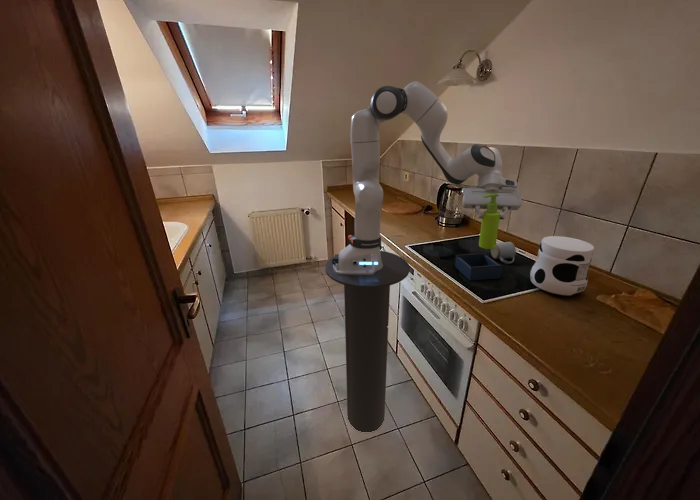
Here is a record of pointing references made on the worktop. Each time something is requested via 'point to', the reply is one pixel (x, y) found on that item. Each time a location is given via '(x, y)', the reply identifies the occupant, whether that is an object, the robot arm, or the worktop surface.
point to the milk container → (562, 265)
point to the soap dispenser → (489, 224)
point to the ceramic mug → (504, 252)
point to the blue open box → (485, 266)
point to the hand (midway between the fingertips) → (491, 218)
